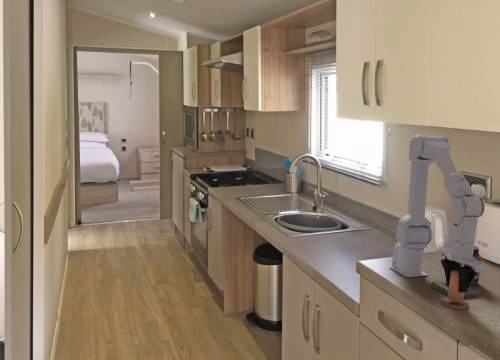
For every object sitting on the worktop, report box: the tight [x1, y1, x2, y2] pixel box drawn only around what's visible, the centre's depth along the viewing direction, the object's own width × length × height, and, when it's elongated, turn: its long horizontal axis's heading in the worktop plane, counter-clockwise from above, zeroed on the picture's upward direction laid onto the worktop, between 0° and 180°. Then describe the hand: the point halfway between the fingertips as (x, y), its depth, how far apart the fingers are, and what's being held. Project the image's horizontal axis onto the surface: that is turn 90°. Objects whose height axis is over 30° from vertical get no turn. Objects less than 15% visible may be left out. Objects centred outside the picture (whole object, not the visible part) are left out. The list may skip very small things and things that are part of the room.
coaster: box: [440, 296, 469, 311], centre depth 136 cm, size 7×7×1 cm
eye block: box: [430, 279, 480, 298], centre depth 146 cm, size 9×9×2 cm
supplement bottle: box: [460, 245, 482, 286], centre depth 153 cm, size 6×6×11 cm
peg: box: [447, 270, 465, 302], centre depth 135 cm, size 4×4×8 cm
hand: (456, 288), depth 135 cm, fingers closed on peg, 4 cm apart
